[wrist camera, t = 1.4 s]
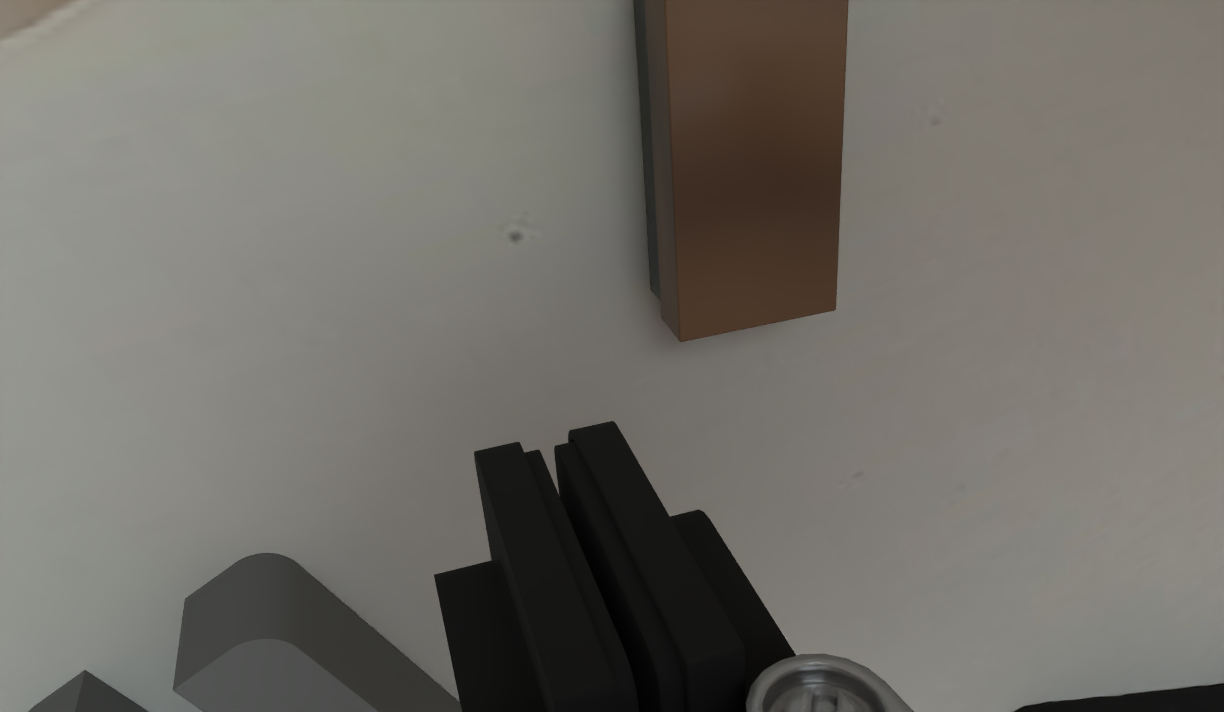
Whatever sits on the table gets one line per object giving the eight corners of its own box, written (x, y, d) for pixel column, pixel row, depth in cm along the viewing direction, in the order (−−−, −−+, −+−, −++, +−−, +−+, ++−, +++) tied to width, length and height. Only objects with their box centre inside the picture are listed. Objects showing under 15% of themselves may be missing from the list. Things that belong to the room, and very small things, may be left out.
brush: (623, -37, 24) (663, -24, 21) (793, -57, 25) (851, -47, 22) (644, 298, 28) (679, 343, 26) (788, 270, 29) (836, 310, 27)
